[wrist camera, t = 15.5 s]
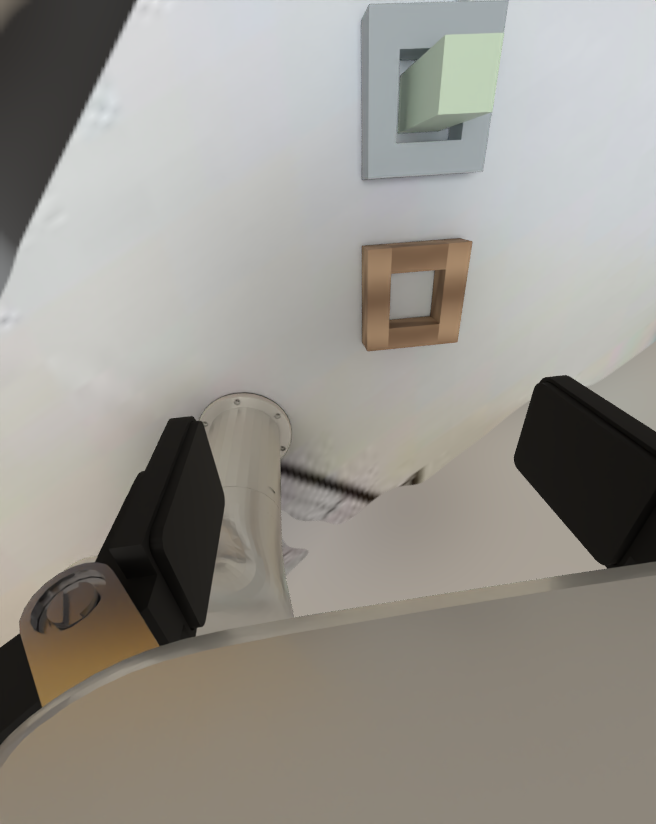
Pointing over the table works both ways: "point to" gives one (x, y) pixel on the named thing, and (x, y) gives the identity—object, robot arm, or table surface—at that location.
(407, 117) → the plug
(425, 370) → the table surface
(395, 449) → the table surface
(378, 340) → the socket
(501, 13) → the socket
